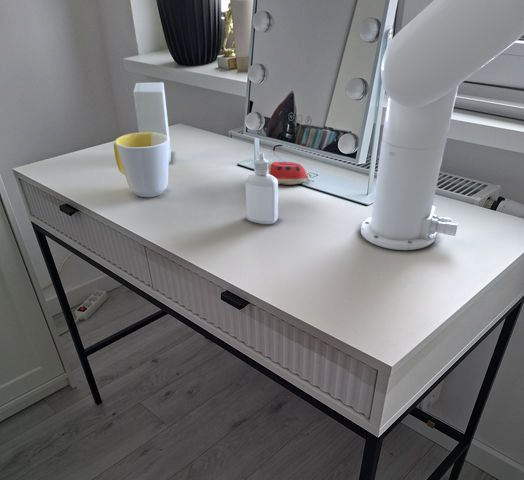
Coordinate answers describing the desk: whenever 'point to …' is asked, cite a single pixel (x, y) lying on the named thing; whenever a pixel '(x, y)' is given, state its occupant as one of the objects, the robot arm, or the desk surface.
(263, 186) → the eye dropper bottle
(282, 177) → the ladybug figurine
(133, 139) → the mug
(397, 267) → the desk surface
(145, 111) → the cosmetic box
